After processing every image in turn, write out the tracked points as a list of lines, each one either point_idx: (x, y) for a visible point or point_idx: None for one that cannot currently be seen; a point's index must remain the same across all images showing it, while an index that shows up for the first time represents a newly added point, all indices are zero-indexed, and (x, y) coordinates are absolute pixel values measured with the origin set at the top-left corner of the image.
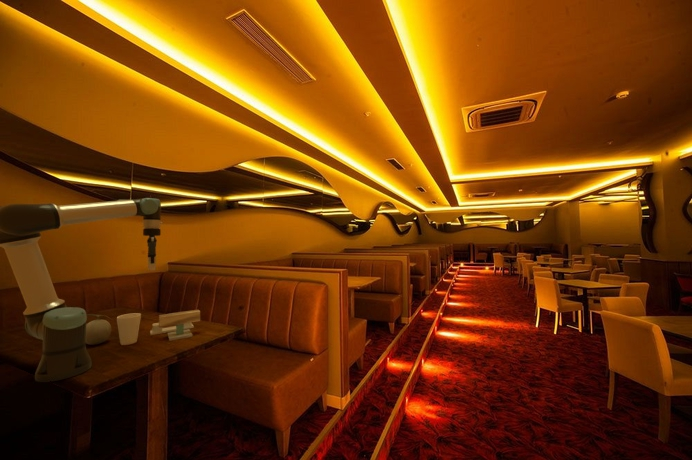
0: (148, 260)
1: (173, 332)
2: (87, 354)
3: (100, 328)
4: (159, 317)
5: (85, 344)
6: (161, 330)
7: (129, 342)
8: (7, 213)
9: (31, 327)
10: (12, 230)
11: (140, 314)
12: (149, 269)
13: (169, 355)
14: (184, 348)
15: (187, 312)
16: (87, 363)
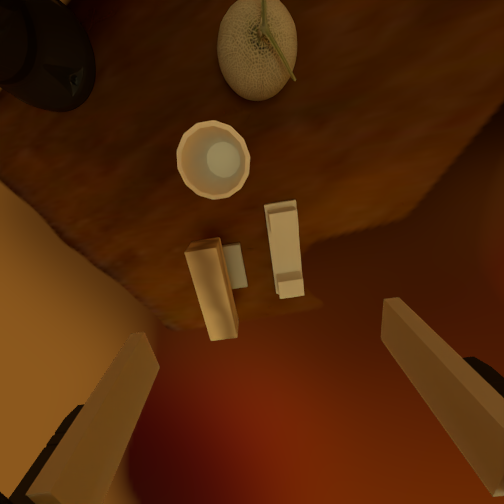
0: (444, 369)
1: (238, 256)
2: (31, 97)
3: (225, 68)
4: (191, 250)
5: (6, 82)
6: (269, 229)
7: (206, 164)
8: None
9: None
10: None
11: (215, 198)
12: (128, 341)
13: (96, 256)
14: (129, 278)
15: (213, 314)
16: (34, 105)
